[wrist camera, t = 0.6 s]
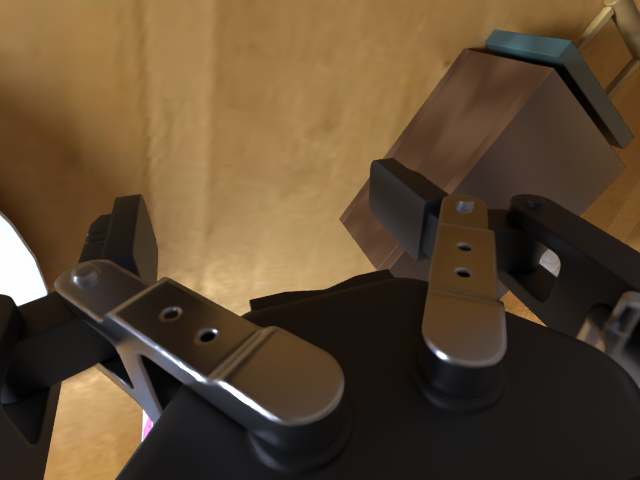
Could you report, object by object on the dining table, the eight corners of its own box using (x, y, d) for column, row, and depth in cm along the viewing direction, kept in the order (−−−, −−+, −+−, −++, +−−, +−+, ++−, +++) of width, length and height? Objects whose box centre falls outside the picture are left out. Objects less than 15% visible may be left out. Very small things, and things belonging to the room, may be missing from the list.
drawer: (546, -42, 29) (643, -49, 23) (607, 60, 36) (693, 75, 30) (368, 197, 35) (408, 239, 29) (448, 245, 42) (493, 287, 36)
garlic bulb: (549, 222, 47) (587, 246, 43) (528, 262, 50) (562, 288, 46) (515, 223, 45) (552, 248, 41) (495, 264, 48) (528, 292, 44)
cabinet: (464, 48, 32) (554, 67, 24) (540, 133, 39) (626, 167, 32) (338, 219, 37) (381, 278, 29) (427, 265, 44) (479, 321, 37)
